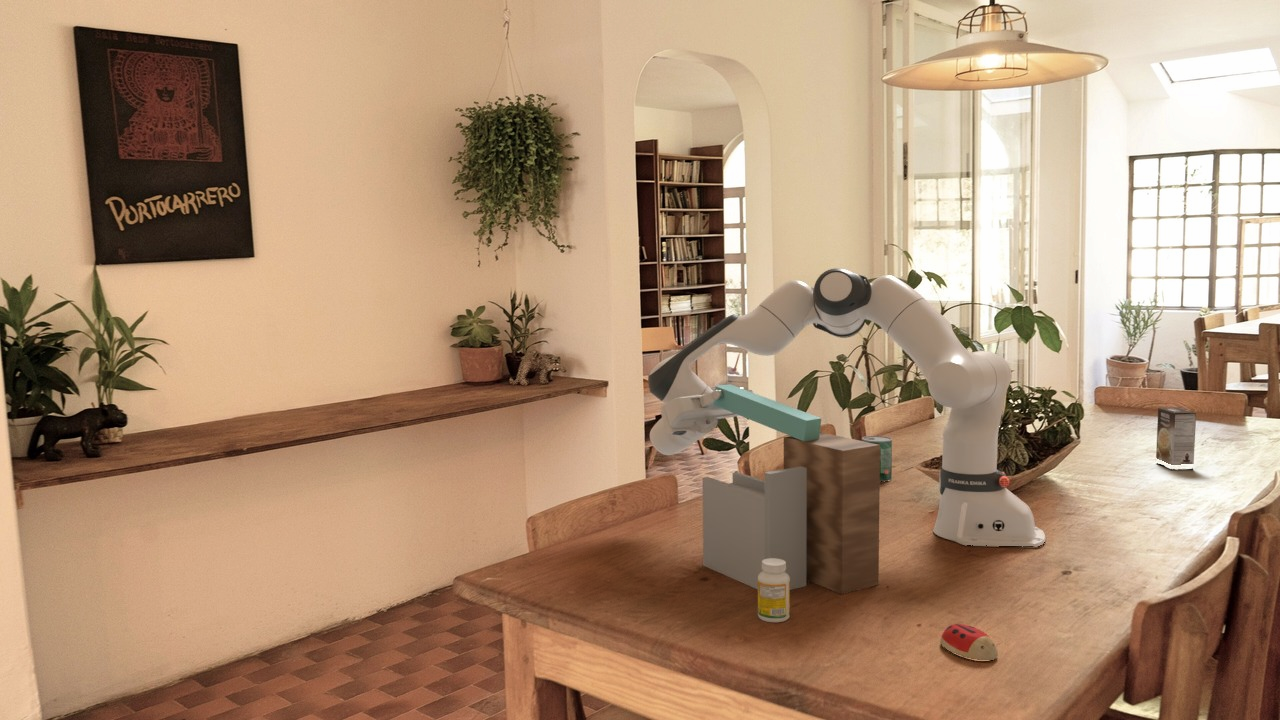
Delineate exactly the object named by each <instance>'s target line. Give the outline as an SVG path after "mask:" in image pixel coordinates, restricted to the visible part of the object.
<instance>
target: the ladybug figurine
mask: <svg viewBox="0 0 1280 720" xmlns="http://www.w3.org/2000/svg"><path fill="white" fill-rule="evenodd" d="M941 644H942V645H941ZM940 645H941V646H942V647H943V648H944V647H945V648H946V649H947V650H949V651H951V652H953V653H956V654H958V655H961V656H963V657H967V658H971V659H977V660H993V659H995V658H996V659H997V658H998V656H999V652H998V651H999V650H998V648H997V646H996V644H995V642H994V641H993V639H992V638H991V637H990V636H989V635H988V634H987V633H985V632H984V631H983V630H981V629H979V628H976V627H974V626H971V625H966V624H964V623H963V624H962V623H953V624H951V625H949V626H947V627H946V628H945V629H944V631H943V632H942V635H941V636H940ZM945 648H944V649H945ZM946 649H945V650H946ZM947 650H946V651H947ZM949 651H948V652H949ZM996 659H995V660H996ZM993 661H994V660H993Z"/></svg>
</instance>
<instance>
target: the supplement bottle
mask: <svg viewBox="0 0 1280 720" xmlns="http://www.w3.org/2000/svg"><path fill="white" fill-rule="evenodd" d="M762 570H763V572H761V573H760V574H759V575H758V589H757V616H758V618H759V619H760V620H761V621H763V622H768V623H783V622H786V621H788V619H789V618H790V615H791V614H790V613H791V612H790V608H791V604H790V601H791V597H790V596H791V594H790V593H791V590H790V577H789V575H788V574H787V573H785V570H786V562H785V561H784V560H782V559H777V558H768V559H764V560H763V561H762Z"/></svg>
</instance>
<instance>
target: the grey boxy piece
mask: <svg viewBox="0 0 1280 720" xmlns="http://www.w3.org/2000/svg"><path fill="white" fill-rule="evenodd" d="M701 482H702V553H703V554H702V555H703V556H702V559H703V561H702V566H703V567H705V568H709V569H710V570H713V571H715V572H718V573H720V574H722V575H723V576H726V577H728V578H731V579H733V580H735V581H738V582H740V583H741V584H744V585H747V586H749V587H751V588H753V589H756V590H758V575H759V574H760V573H761V572H763V570H762V561H763V560H764V559H768V558H777V559H782V560H784V561H785V562H786V570H785V573H787V574H788V575H789V577H790V591H793V590H796V589H800V588H804V587H807V580H806V520H807V468H805V467H795V468H789V469H784V468H783V469H778V470H772V471H771V470H770V471H765V472H764V479H762V478H759V477H755V476H752V475H748V474H745V473H741V472H738V471H736V472H732V482H731V483H728V482H724V481H722V480H718V479H715V478H712V477H709V476H706V477H702V481H701Z"/></svg>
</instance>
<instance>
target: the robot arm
mask: <svg viewBox="0 0 1280 720" xmlns="http://www.w3.org/2000/svg"><path fill="white" fill-rule="evenodd" d="M867 320H868V321H870V322H873V323H874V324H876V325H878V326H879V327H880V328H881V329H882V330H883V331H884V332H885V333H886V334H887V335H888V336H889V337H890V338H891V340H893V341H894V342H895V343H896V345H898V346H899V347H900V348H901V350H903V351H904V352H905V353H906V354H907V355H908V356H909V357H910V359H911V360H912V361H913V362H914V363H915V365H916V366H917V368H918V370H919V371H920V372H921V374H922V376H923V378H925V380H926V382H927V387H928V390H929V391H928V392H929V393H930V394H929V395H931V397H932V399H933V400H934V401H935V402H936V403H938V404H939V405H941V406H942V407H946V408H950V412H949V416H948V419H947V423H946V424H945V426H944V429H943V432H942V457H941V458H942V466H941V467H940V470H939V475H938V476H939V479H938V480H939V481H938V483H939V485H938V486H939V487H938V489H939V493H940V498H939V506H938V512H937V517H936V521H935V524H934V527H933V530H932V531H933V533H934V534H935V535H937V536H938V537H941V538H942V539H946V540H949V541H952V542H956V543H957V544H960V545H963V546H965V547H966V546H967V545H971V547H999V546H1022V547H1021V548H1024V547H1023V546H1040V545H1042V544H1043V543H1044V542H1045V543H1046V541H1045V540H1046V534H1045V532H1044V531H1043V530H1042V529H1041V528H1039V527H1037V526H1036V525H1035V519H1034V515H1033V512H1032V510H1031V508H1030V507H1029V505H1028V504H1027V503H1025V502H1024V501H1023V500H1022V499H1020V497H1018V496H1017V495H1015V494H1014V493H1013V492H1011V491H1010V489H1008V488H1007V487H1008V486H1009V485H1010V479H1009V477H1007V474H1006V473H1005V472H1004V471H1000V470H999V469H997V468H998V467H997V466H998V439H999V438H998V437H999V431H1000V430H999V429H1000V425H1001V419H1002V414H1003V411H1004V410H1003V409H1004V405H1005V399H1006V395H1007V392H1008V388H1009V386H1010V384H1011V381H1012V373H1013V372H1012V369H1011V366H1010V364H1009V363H1008V360H1007V359H1005V358H1004V357H1003V356H1001V355H1000V354H998V353H994V352H991V351H988V350H978V351H972V352H971V351H969V350H968V349H967V348H966V347H964V345H963V344H962V343H961V341H960V339H959V338H958V337H957V335H956V334H955V332H954V330H953V326H952V325H953V324H952V323H951V322H950V321H949V320H948V319H947V318H946V317H945V316H944V315H943V314H942V313H941V312H939V310H937V309H936V308H935V307H934V306H933V305H932V304H931V303H930V302H929V301H928V300H927V299H926V298H925V297H924V296H923V295H921V294H920V293H919V292H917V291H916V290H915V289H914V288H912V287H911V286H910V285H909V284H907V283H906V282H904V281H903V280H901V279H900V278H898V277H896V276H894V275H890V274H886V275H885V274H884V275H882V276H881V275H880V276H878V277H877V278H876V279H873V281H871V282H870V280H869V279H868V277H867V276H865V275H862V274H857V273H854V272H852V271H850V270H847V269H844V268H830V269H828V270H825V271H824V272H822V273H821V274H820V275H819V276H818V277H817V279H816V281H815V283H814V285H813V287H811V286H810V285H809V284H807V283H806V282H804V281H802V280H799V279H790V280H788V281H786V282H784V283H783V284H782V285H780V286H779V287H778V288H776V289H775V290H774V291H773V292H772V293H770V294H769V295H768V296H766V298H765V299H764V300H762V301H761V303H759V305H758V306H756V307H755V309H753V310H752V311H750V312H749V313H747V314H742V315H739V314H735V313H734V314H730V315H728V316H726V317H724V318H723V319H721V320H720V321H719V322H717V323H715V324H714V325H713V326H711V327H710V328H708V329H707V330H705V331H704V332H703V333H702V334H700V335H698V336H697V337H696V338H694V339H693V340H692V341H691V342H689V343H688V344H686V345H684V347H682V348H681V349H680V350H678V351H677V352H676V353H674V354H673V355H671V356H669V357H667V358H665V359H663V360H661V361H660V362H659V363H657V364H656V365H655V366H654V367H653V368H652V369H651V371H650V372H649V374H648V376H647V377H648V378H647V379H648V380H647V381H648V382H647V383H648V389H649V393H651V394H652V395H653V396H655V397H656V398H657V399H658V400H660V401H661V402H663V404H662V405H660V406H659V408H660V414H661V418H660V419H658V421H657V422H655V424H653V427H652V428H651V429H650V432H649V440H650V443H651V445H652V446H653V447H654V449H655V450H656V451H657V452H658V453H660V454H662V455H664V456H671V455H676V454H678V453H680V452H682V451H684V450H686V449H688V448H689V447H691V446H692V445H693V444H694V443H695V442H696V441H700V440H701V439H702V438H704V437H705V436H707V435H708V434H710V433H711V432H712V431H714V430H715V429H716V427H717V425H718V424H719V422H720V421H721V419H728V418H735V417H738V416H739V415H737V414H735V413H733V412H730V411H728V410H725V409H723V408H720V407H718V406H715V405H714V402H715V401H717V400H720V399H721V398H723V396H724V395H723V393H722V390H715V389H714V390H713V389H712V388H711V387H710V386H709V385H708V384H706V383H705V381H704V380H702V379H701V377H699V376H698V375H697V374H696V373H695V372H694V371H693V370H692V368H691V365H692V364H693V363H694V362H695V361H697V360H698V359H699V358H701V357H702V356H704V355H705V354H706V353H708V352H709V351H710V350H712V349H713V348H715V347H716V346H718V345H720V344H728V345H732V346H735V347H737V348H740V349H742V350H745V351H747V352H749V353H752V354H755V355H759V356H762V357H763V356H766V357H767V356H768V357H769V356H775V355H777V354H779V353H780V352H781V351H783V350H784V349H785V348H787V346H788V345H789V344H791V342H793V341H794V340H795V338H796V337H797V336H798V335H799V334H800V333H801V332H802V331H803V330H804V329H806V327H807V326H809V325H812V326H813V327H814V328H815V329H817V330H821V332H822V331H823V332H826V333H827V334H829V335H831V336H834V337H837V338H839V339H840V338H841V339H847V338H848V339H849V338H852V337H854V336H855V335H857V334H858V333H860V331H862V329H863V327H864V326H865V325H866V324H865V323H866V321H867ZM740 388H742V389H744V390H745V388H744V387H740ZM746 390H747V391H750V392H752V393H754V391H753V390H752V389H746ZM1045 543H1044V544H1045ZM972 545H973V546H972ZM986 545H987V546H986ZM1042 546H1043V545H1042ZM967 547H968V546H967ZM1040 547H1041V546H1040Z"/></svg>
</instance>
